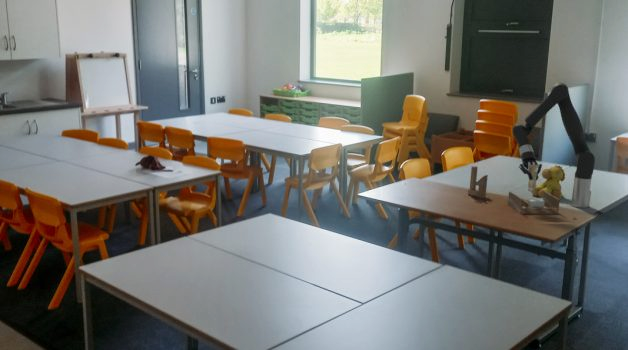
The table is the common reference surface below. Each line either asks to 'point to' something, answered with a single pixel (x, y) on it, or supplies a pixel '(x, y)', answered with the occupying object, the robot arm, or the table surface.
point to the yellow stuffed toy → (551, 182)
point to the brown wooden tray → (522, 207)
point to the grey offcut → (536, 203)
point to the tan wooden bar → (533, 182)
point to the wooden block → (481, 183)
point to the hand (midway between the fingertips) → (534, 179)
